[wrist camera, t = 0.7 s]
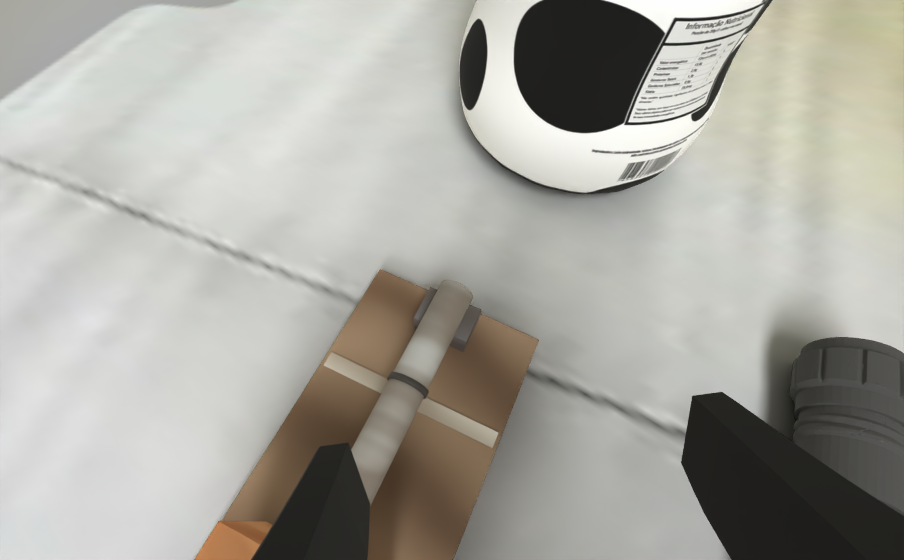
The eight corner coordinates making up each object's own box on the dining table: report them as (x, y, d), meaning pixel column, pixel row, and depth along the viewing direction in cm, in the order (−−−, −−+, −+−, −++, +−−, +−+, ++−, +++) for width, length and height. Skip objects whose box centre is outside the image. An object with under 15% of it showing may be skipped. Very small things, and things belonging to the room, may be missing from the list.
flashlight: (771, 349, 28) (843, 313, 23) (862, 389, 27) (958, 360, 22) (731, 632, 21) (823, 664, 16) (852, 698, 20) (988, 752, 15)
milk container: (514, 29, 41) (574, -282, 25) (700, 104, 38) (903, -199, 22) (411, 148, 33) (404, -190, 17) (633, 256, 30) (870, -41, 14)
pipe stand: (358, 793, 17) (337, 885, 13) (148, 658, 19) (66, 700, 15) (533, 349, 26) (555, 314, 22) (381, 281, 28) (374, 235, 24)
